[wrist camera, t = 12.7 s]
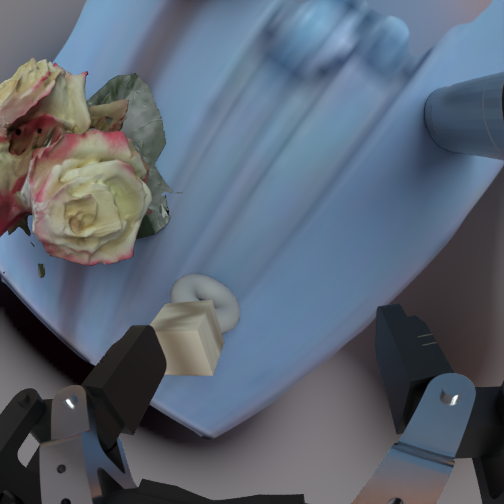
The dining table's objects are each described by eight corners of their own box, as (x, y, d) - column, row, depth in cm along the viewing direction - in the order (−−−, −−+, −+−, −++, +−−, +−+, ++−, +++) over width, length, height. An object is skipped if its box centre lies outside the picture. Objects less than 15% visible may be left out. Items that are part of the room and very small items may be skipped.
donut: (181, 277, 44) (154, 312, 35) (190, 259, 43) (164, 291, 34) (238, 310, 45) (225, 352, 36) (249, 294, 44) (238, 334, 34)
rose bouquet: (203, 224, 41) (64, 374, 13) (56, 243, 46) (-69, 326, 18) (177, 46, 32) (11, -47, 4) (33, 108, 37) (-109, 126, 9)
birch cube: (212, 299, 33) (197, 330, 28) (224, 342, 35) (213, 375, 30) (165, 303, 34) (144, 331, 29) (179, 343, 36) (163, 374, 31)
